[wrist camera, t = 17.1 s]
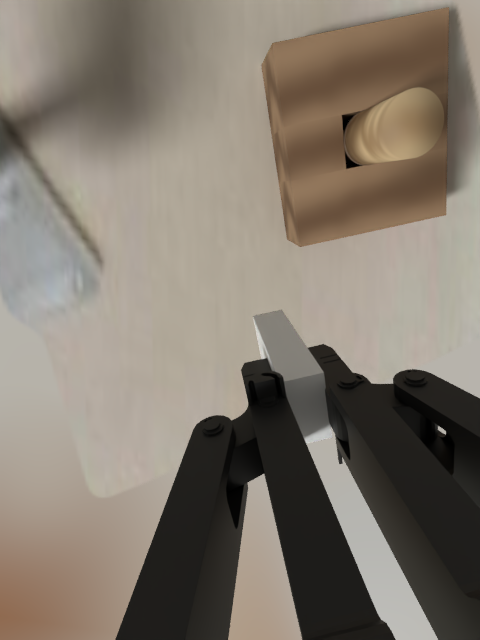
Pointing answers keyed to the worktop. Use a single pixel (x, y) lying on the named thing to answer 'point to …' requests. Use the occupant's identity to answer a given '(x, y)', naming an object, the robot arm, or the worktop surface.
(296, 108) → the socket block
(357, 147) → the peg
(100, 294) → the worktop surface
